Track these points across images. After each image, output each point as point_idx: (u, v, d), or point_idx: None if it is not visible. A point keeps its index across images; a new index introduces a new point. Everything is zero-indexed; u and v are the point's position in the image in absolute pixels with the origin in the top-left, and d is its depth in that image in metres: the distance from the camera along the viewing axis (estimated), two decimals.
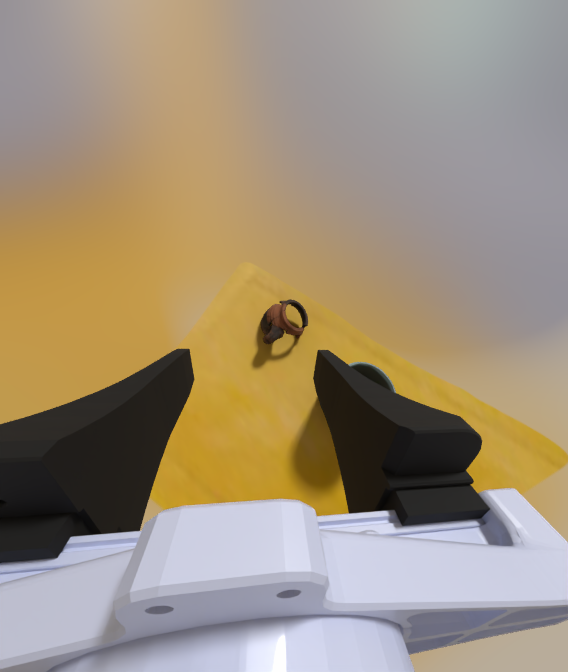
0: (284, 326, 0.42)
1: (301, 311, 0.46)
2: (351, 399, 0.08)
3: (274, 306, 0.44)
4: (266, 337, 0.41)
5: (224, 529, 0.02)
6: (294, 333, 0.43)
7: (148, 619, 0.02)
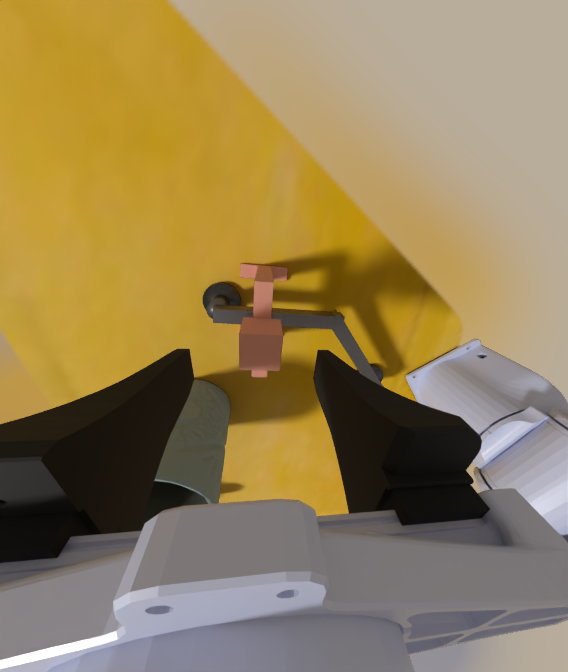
0: None
1: None
2: (351, 399, 0.08)
3: None
4: None
5: (224, 529, 0.02)
6: None
7: (148, 619, 0.02)
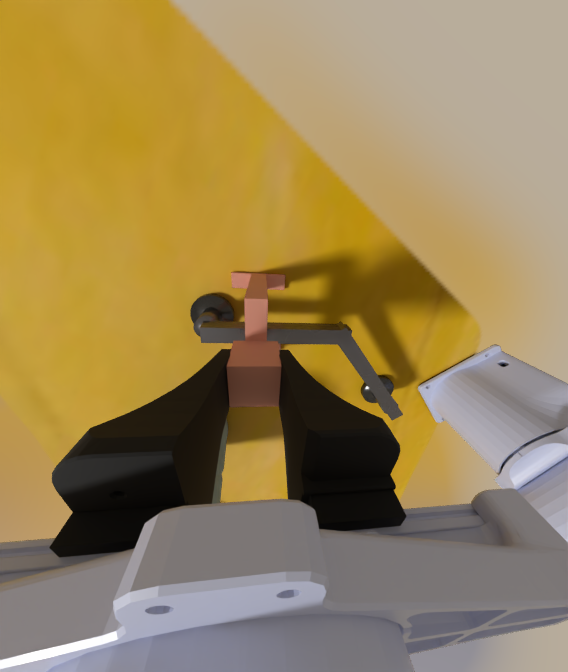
0: None
1: None
2: (291, 400, 0.07)
3: None
4: None
5: (224, 529, 0.02)
6: None
7: (148, 619, 0.02)
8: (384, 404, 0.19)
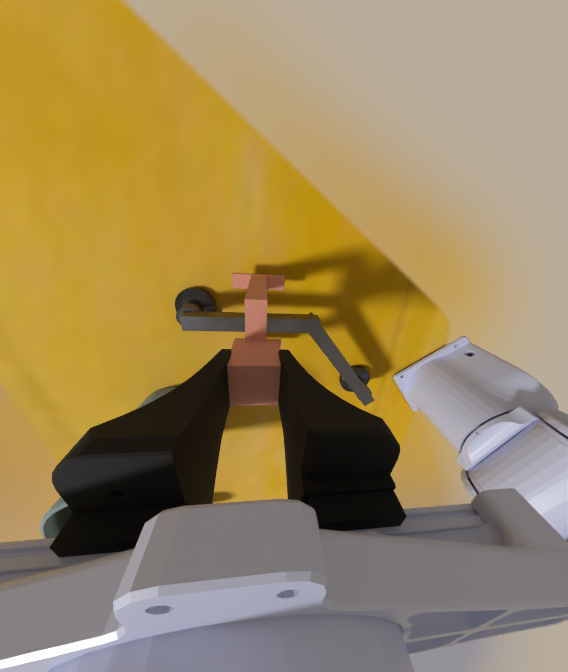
0: None
1: None
2: (291, 400, 0.07)
3: None
4: None
5: (224, 530, 0.02)
6: None
7: (148, 620, 0.02)
8: (356, 390, 0.21)
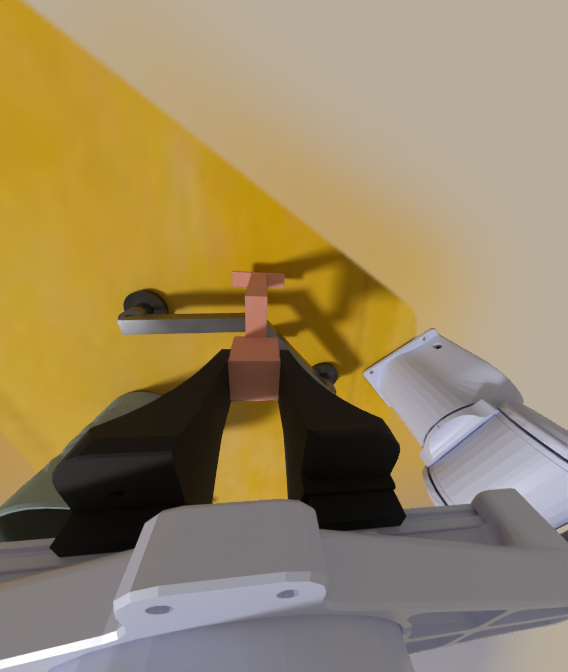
0: None
1: None
2: (291, 400, 0.07)
3: None
4: None
5: (224, 529, 0.02)
6: None
7: (148, 619, 0.02)
8: None
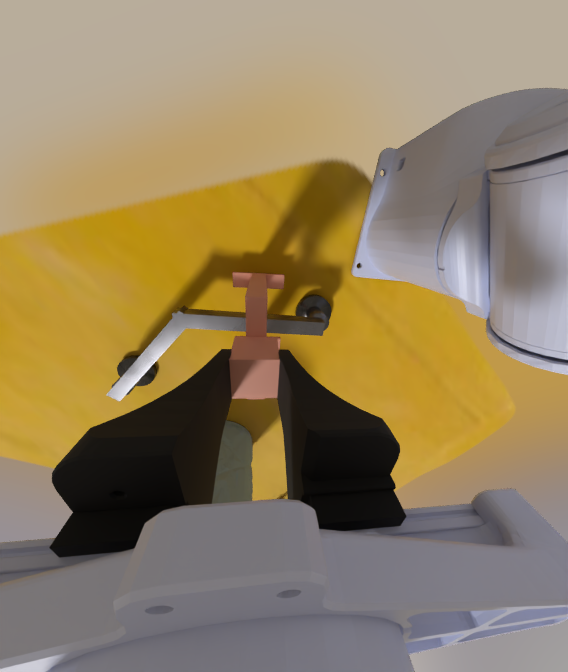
0: None
1: None
2: (291, 400, 0.07)
3: None
4: None
5: (224, 529, 0.02)
6: None
7: (148, 619, 0.02)
8: (293, 330, 0.17)
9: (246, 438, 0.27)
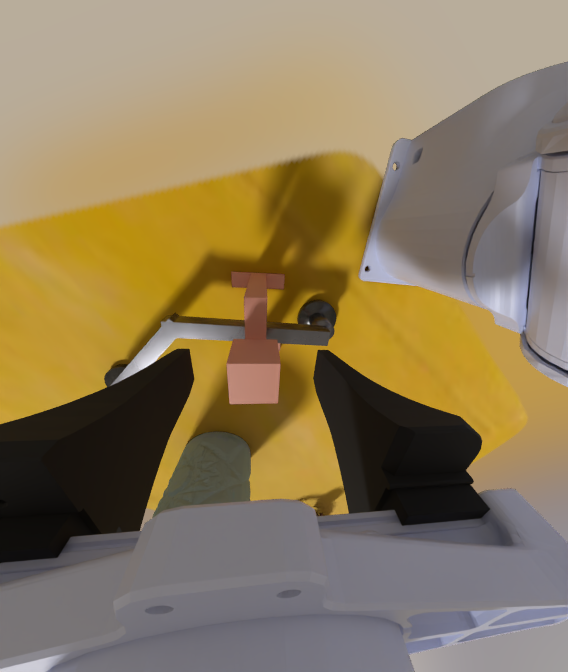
0: None
1: None
2: (351, 399, 0.08)
3: None
4: None
5: (224, 529, 0.02)
6: None
7: (148, 619, 0.02)
8: (295, 340, 0.16)
9: (244, 451, 0.25)
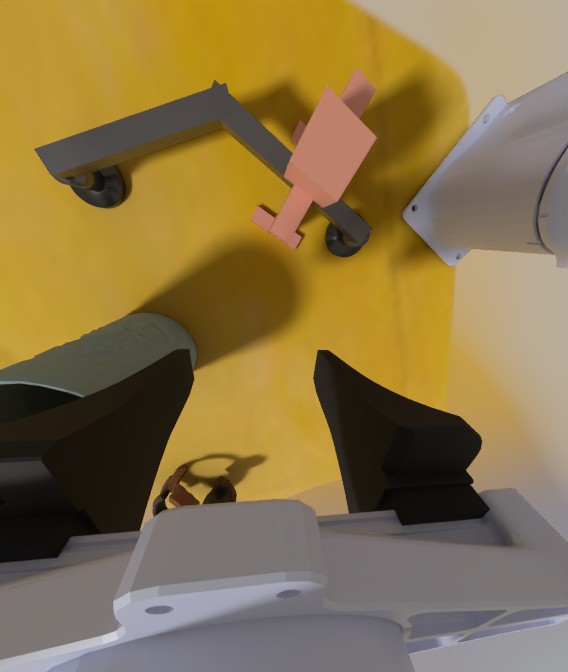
0: None
1: (159, 510, 0.29)
2: (351, 399, 0.08)
3: None
4: None
5: (224, 529, 0.02)
6: (186, 496, 0.28)
7: (148, 619, 0.02)
8: (337, 215, 0.14)
9: (192, 353, 0.21)
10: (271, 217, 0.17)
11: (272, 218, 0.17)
